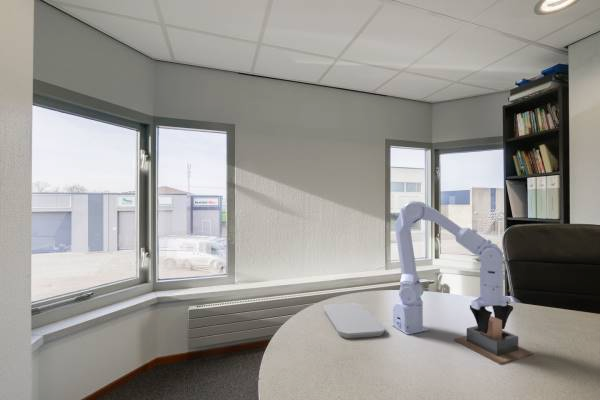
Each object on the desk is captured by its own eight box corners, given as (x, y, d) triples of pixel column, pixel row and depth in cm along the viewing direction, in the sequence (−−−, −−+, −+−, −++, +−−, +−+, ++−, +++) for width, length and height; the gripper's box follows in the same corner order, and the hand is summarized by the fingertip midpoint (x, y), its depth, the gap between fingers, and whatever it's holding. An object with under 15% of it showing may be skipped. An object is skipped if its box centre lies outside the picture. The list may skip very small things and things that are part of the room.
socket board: (500, 364, 74) (499, 347, 74) (454, 340, 87) (454, 326, 87) (533, 354, 79) (532, 338, 79) (485, 333, 92) (484, 319, 92)
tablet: (359, 308, 116) (359, 302, 116) (388, 337, 90) (388, 330, 90) (321, 310, 113) (321, 304, 113) (340, 341, 87) (340, 333, 87)
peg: (492, 349, 81) (492, 322, 81) (479, 343, 85) (479, 316, 85) (502, 347, 82) (501, 320, 82) (488, 341, 86) (488, 315, 86)
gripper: (487, 290, 77) (488, 339, 77) (521, 285, 82) (521, 331, 82) (464, 284, 84) (465, 329, 84) (497, 279, 89) (497, 322, 89)
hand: (491, 329), depth 83 cm, fingers open, 7 cm apart
